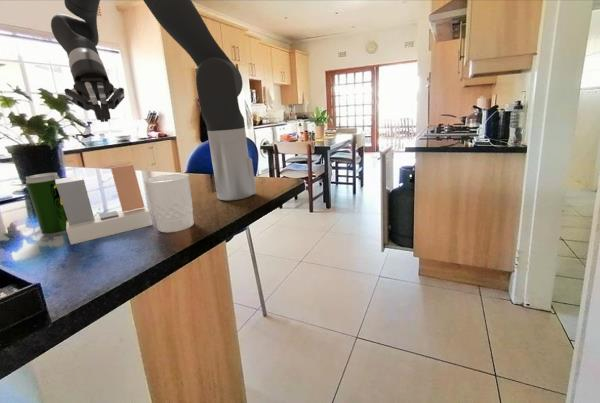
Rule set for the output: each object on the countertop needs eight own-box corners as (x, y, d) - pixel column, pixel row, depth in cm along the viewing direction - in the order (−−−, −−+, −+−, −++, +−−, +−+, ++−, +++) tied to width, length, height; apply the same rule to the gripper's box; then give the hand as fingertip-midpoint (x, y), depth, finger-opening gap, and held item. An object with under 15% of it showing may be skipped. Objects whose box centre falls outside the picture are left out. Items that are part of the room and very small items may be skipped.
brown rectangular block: (143, 207, 66) (132, 167, 67) (144, 206, 65) (133, 164, 66) (122, 212, 64) (111, 170, 65) (122, 210, 63) (111, 168, 63)
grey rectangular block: (93, 215, 61) (82, 175, 56) (94, 219, 60) (83, 179, 55) (68, 220, 59) (55, 179, 54) (69, 225, 58) (55, 183, 53)
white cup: (145, 232, 60) (134, 182, 58) (174, 219, 68) (165, 173, 65) (178, 235, 58) (168, 182, 55) (205, 220, 65) (197, 173, 62)
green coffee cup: (41, 239, 61) (21, 179, 58) (44, 232, 66) (26, 175, 62) (74, 232, 64) (57, 174, 61) (75, 225, 68) (59, 171, 65)
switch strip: (147, 218, 69) (144, 203, 68) (152, 224, 65) (149, 209, 64) (70, 236, 62) (66, 220, 61) (70, 244, 57) (65, 227, 56)
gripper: (53, 57, 74) (66, 108, 67) (116, 58, 81) (134, 105, 75) (60, 83, 80) (73, 133, 73) (118, 82, 87) (135, 128, 80)
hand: (104, 119), depth 74 cm, fingers closed
